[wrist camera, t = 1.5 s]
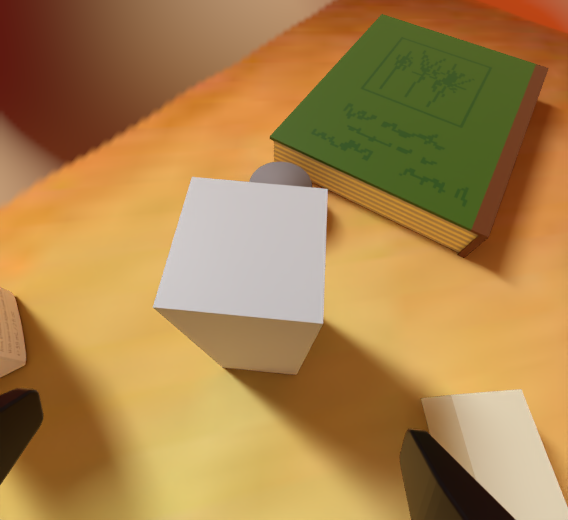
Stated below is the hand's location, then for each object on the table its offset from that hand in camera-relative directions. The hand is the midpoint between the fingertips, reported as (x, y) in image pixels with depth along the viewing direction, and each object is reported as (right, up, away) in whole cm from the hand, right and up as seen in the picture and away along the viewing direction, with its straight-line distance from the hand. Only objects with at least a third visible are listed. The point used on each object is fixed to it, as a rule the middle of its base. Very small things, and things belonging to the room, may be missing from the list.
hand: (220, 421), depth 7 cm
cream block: (+13, -8, +11) cm, 19 cm away
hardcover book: (+15, +18, +25) cm, 34 cm away
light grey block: (0, -1, +14) cm, 14 cm away
